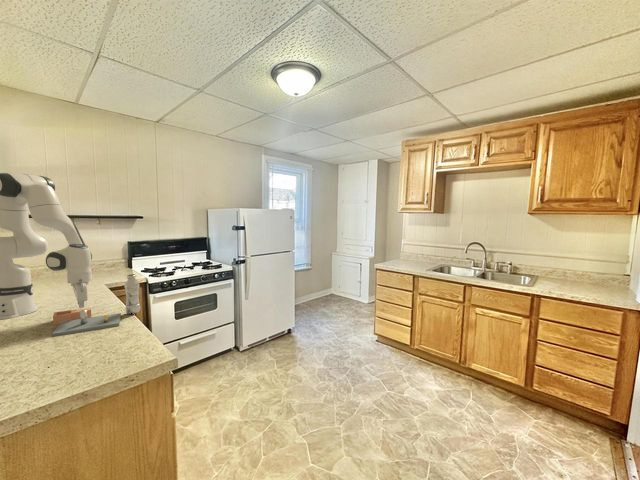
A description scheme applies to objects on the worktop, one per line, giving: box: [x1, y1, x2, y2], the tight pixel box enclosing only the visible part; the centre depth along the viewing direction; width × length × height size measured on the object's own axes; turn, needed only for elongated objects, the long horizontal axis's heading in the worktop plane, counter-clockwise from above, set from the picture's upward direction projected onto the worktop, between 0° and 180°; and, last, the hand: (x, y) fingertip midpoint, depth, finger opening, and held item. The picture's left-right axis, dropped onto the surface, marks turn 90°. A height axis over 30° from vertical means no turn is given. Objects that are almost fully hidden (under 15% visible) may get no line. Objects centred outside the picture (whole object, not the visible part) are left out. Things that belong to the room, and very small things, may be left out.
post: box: [80, 310, 109, 325], centre depth 123 cm, size 10×2×6 cm, turn 104°
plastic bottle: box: [124, 273, 141, 315], centre depth 140 cm, size 6×7×20 cm
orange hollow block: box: [52, 307, 92, 326], centre depth 131 cm, size 13×7×4 cm, turn 130°
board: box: [52, 312, 122, 337], centre depth 124 cm, size 22×15×2 cm
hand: (80, 305), depth 132 cm, fingers open, 4 cm apart
